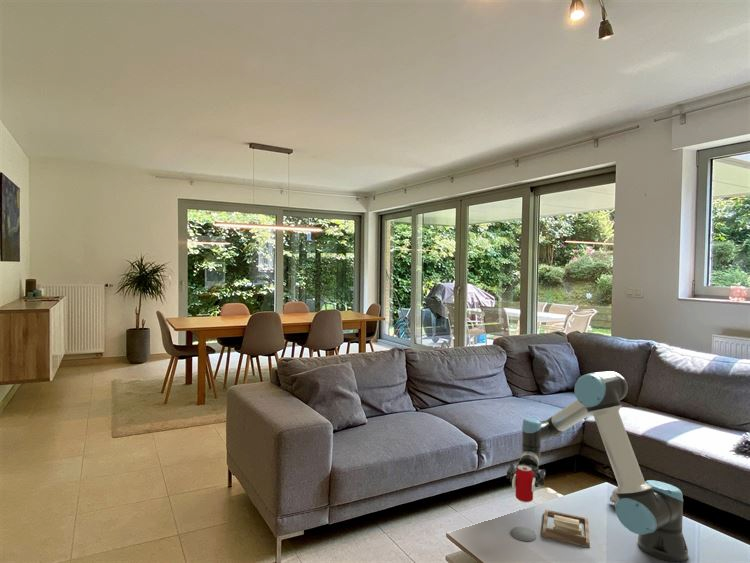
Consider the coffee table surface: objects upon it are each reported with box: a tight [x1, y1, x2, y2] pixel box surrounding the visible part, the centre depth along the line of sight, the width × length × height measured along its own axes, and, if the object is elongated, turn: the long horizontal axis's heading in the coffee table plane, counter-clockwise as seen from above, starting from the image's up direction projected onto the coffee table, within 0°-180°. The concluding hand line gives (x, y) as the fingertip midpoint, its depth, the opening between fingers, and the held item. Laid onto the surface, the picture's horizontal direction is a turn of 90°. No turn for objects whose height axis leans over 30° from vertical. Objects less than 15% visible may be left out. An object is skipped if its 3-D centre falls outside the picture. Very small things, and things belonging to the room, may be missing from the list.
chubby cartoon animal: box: [609, 486, 619, 508], centre depth 190 cm, size 7×12×8 cm, turn 3°
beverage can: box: [515, 465, 534, 503], centre depth 170 cm, size 6×6×12 cm
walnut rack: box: [541, 509, 591, 548], centre depth 174 cm, size 19×16×3 cm
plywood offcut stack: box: [552, 515, 583, 536], centre depth 170 cm, size 4×10×6 cm, turn 65°
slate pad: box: [510, 526, 537, 543], centre depth 170 cm, size 9×9×1 cm
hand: (522, 486), depth 165 cm, fingers closed on beverage can, 6 cm apart
